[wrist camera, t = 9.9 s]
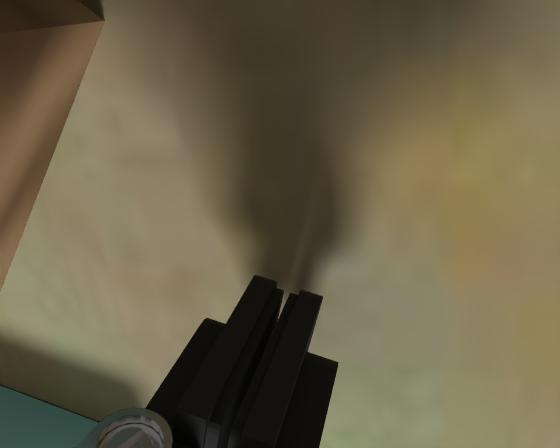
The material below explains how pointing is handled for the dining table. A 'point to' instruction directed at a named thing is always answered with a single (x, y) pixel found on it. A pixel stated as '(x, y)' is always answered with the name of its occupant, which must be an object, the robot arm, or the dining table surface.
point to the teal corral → (38, 423)
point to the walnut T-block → (36, 99)
